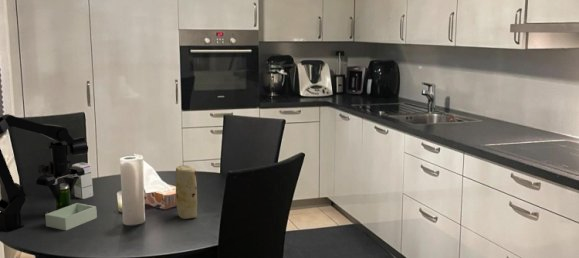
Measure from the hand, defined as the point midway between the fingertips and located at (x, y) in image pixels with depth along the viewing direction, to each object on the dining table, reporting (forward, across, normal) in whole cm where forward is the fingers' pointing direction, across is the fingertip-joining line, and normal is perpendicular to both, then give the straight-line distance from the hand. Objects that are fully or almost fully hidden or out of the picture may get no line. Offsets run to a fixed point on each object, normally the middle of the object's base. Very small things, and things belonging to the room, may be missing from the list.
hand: (62, 197), depth 214 cm
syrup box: (+7, -21, -11) cm, 25 cm away
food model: (+7, -19, +44) cm, 48 cm away
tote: (+7, +4, +9) cm, 12 cm away
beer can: (+7, 0, 0) cm, 7 cm away
